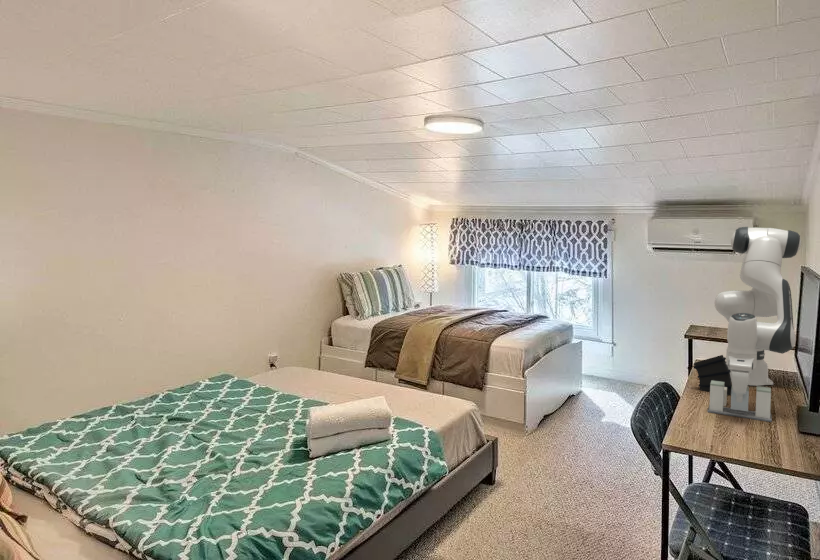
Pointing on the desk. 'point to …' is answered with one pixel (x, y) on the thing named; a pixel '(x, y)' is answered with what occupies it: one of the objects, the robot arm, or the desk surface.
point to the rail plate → (740, 414)
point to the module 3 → (763, 402)
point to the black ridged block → (713, 373)
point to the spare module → (725, 395)
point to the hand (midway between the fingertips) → (739, 399)
